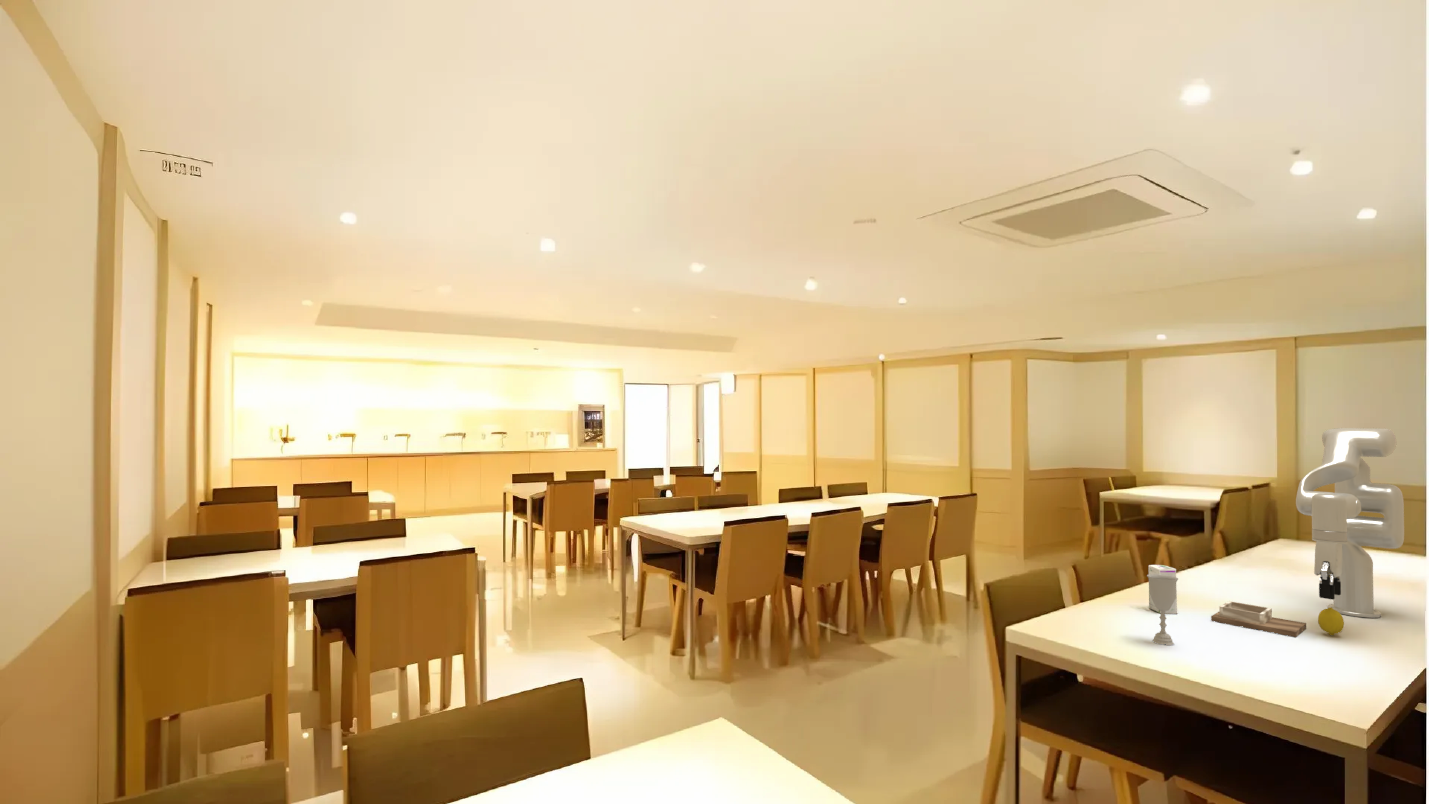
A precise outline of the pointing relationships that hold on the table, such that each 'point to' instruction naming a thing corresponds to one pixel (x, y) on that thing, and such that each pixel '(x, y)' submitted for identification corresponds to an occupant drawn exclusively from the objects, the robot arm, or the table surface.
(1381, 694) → the table surface
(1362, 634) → the table surface
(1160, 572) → the syrup box
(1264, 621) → the serving board
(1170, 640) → the chalice
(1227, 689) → the table surface
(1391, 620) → the table surface
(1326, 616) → the lemon
